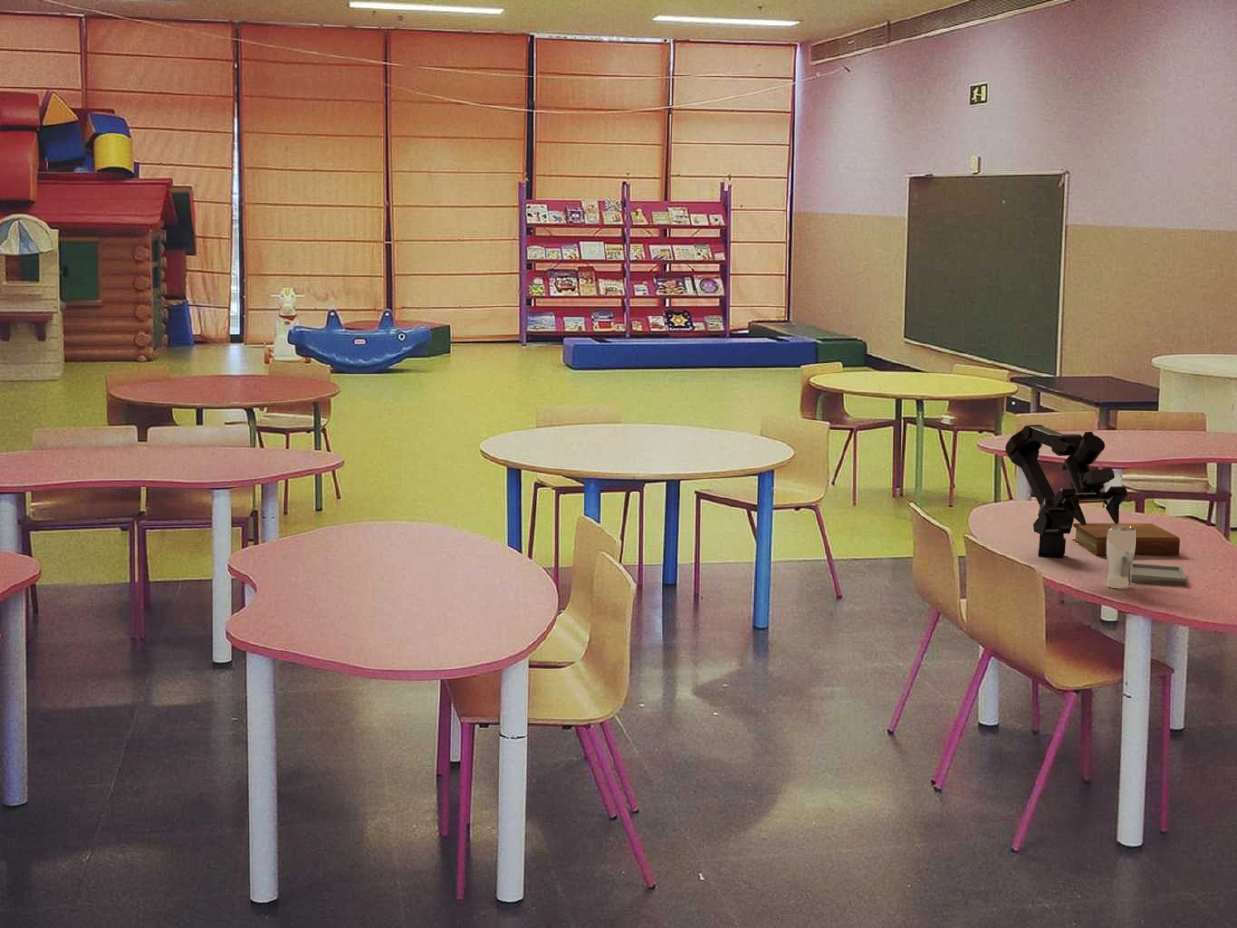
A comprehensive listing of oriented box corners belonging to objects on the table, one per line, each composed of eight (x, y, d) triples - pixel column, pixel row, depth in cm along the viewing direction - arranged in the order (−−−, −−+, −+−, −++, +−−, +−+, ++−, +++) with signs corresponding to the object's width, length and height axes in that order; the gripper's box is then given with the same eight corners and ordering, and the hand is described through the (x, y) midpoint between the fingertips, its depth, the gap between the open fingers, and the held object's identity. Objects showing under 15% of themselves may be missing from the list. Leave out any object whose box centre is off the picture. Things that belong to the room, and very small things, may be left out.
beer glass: (1134, 590, 345) (1138, 532, 342) (1105, 589, 346) (1109, 530, 344) (1130, 583, 352) (1134, 526, 349) (1101, 582, 353) (1105, 524, 351)
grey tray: (1131, 582, 353) (1131, 574, 353) (1128, 570, 366) (1128, 562, 365) (1186, 586, 350) (1186, 578, 349) (1180, 573, 362) (1181, 566, 362)
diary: (1096, 558, 381) (1097, 538, 380) (1071, 542, 399) (1073, 523, 398) (1178, 557, 382) (1180, 537, 381) (1150, 542, 400) (1151, 522, 399)
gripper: (1061, 457, 357) (1081, 507, 348) (1126, 455, 361) (1148, 505, 352) (1044, 482, 366) (1063, 532, 357) (1108, 480, 370) (1128, 529, 361)
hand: (1101, 524), depth 356 cm, fingers open, 9 cm apart
